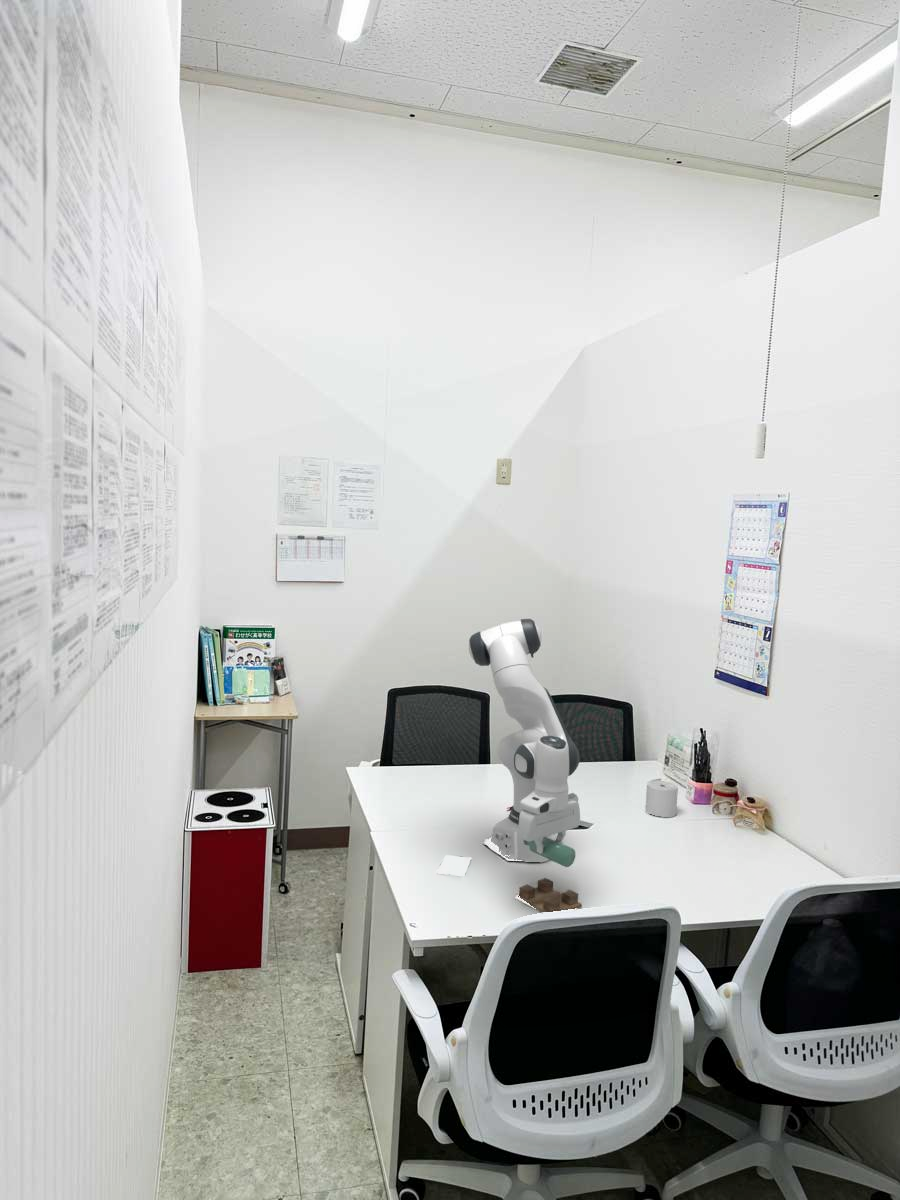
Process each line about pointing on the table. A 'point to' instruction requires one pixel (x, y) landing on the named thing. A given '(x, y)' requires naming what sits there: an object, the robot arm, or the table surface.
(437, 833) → the table surface
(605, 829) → the table surface
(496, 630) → the robot arm
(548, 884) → the cradle
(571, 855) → the bottle
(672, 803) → the toilet tissue
